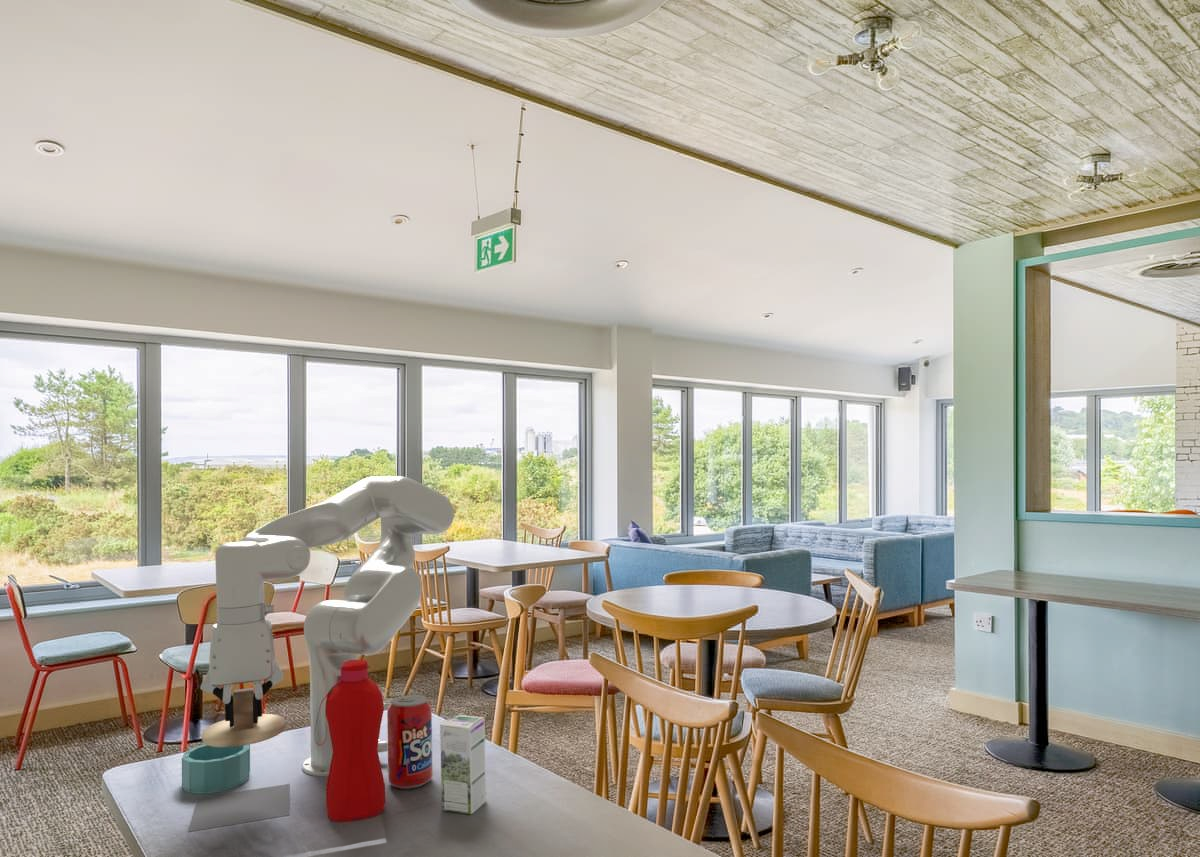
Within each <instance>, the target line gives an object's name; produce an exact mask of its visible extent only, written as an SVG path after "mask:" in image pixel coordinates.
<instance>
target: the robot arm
mask: <svg viewBox="0 0 1200 857" xmlns="http://www.w3.org/2000/svg"><path fill="white" fill-rule="evenodd" d="M454 515H455V513H454V506H453V504H452V503H451V501H450V500H449V498H448V497H446V496H445V495H444V494H443V493H441V492H439V491H437V490H434V489H433V488H430V487H429V486H427V485H425V484H423V483H421V482H419V481H417V480H414V479H413V478H410V477H406V476H402V475H374V476H367V477H364V478H363V479H360V480H359V481H357V482H354V483H353V484H351V485H350V486H348V487H347V488H344V489H343V490H341V491H340V492H338V493H336V494H334V495H333V496H331V497H330V498H327V499H326V500H323V501H322V502H320V503H317V504H314V505H310V506H308V507H306V508H303V509H300V510H297V511H295V512H292V513H289V514H286V515H283V516H281V517H277V518H276V519H273V520H271V521H269V522H267V523H265V524H262V525H261V526H260V527H257V529H254V530H253V531H251V532H249V533H248V534H246V535H245V536H243V538H241V539H240V540H239V541H233V542H232V541H231V542H226V543H222V544H220V545H219V546H218V547H217V548H216V550H215V555H214V556H215V557H214V558H215V586H216V587H215V588H216V592H215V593H216V621H217V622H216V623H214V624H212V627H211V633H210V634H211V635H210V645H209V662H208V663H209V664H208V665H209V666H208V668H209V669H208V671H207V672H206V675H205V676H204V678H203V680H202V683H201V684H200V687H199V688H200V690H202V691H204V692H206V693H209V694H212V695H214V696H215V697H216V698H218V699H219V700H221V702H222V703H223V704H224V714H225V715H224V716H225V717H224V718H225V719H224V720H225V721H230V727H233V726H234V711H233V695H232V693H233V685H239V684H240V685H241V684H247V683H253V691H254V692H253V723H254V724H257V723H258V717H261V716H262V714H263V702H262V701H263V697H264V696H265V695H266V694H267V693H268V691H269V690H270V689H271V688H272V687H273V686H275V685H277V684H279V683H280V682H282V681H283V680H284V679H285V674H284V672H283V670H282V669H281V668H280V666H279V665H278V662H277V661H276V657H275V656H276V655H275V643H274V642H275V641H274V634H273V633H274V632H273V628H272V623H271V619H270V618H267V617H266V616H267V615H270V614H273V613H275V611H274V610H275V606H274V604H267V603H266V600H265V599H266V598H265V582H266V581H267V580H270V581H271V580H287V579H292V578H295V577H298V576H299V575H301V574H302V573H303V572H305V570H307V568H308V566H309V565H310V561H311V550H310V548H318V547H323V546H329V545H334V544H337V543H341V542H344V541H345V540H347V539H349V538H350V537H351V536H353V535H355V534H356V533H357V532H359V531H360V530H362V529H363V528H365V527H367V526H369V525H370V524H371V523H373V522H374V521H376V520H378V519H380V530H381V531H380V541H379V544H378V545H377V547H376V548H375V549H374V550H373V552H372V553H371V554H370V555H369V556H368V557H367V558H366V560H364V562H363V563H362V564H361V565H360V566H359V567H358V568H357V569H356V570H355V571H354V572H353V573H352V575H351V576H349V579H348V580H347V582H346V584H345V587H344V590H343V592H344V593H343V594H344V599H345V600H344V599H328V600H323V601H320V602H318V603H316V604H314V605H313V606H312V607H311V608H310V610H308V612H307V614H306V616H305V620H304V624H303V633H304V641H305V646H306V650H307V655H308V661H309V684H310V685H309V692H310V693H309V696H310V697H309V698H310V699H309V700H310V701H309V702H310V704H309V705H310V707H309V708H310V709H309V710H310V711H309V712H310V714H309V715H310V716H309V718H310V719H309V720H310V756H309V757H308V758H307V759H305V760H304V761H303V763H302V764H301V767H302V769H301V770H302V772H303V773H305V774H307V775H309V776H315V777H328V775H329V770H330V765H331V760H332V755H333V749H332V743H331V738H330V732H329V726H328V722H327V718H326V717H325V707H326V699H327V696H326V695H327V694H328V692H329V690H330V689H331V687H333V686H334V685H335V684H336V683H337V677H338V676H341V665H342V664H343V663H345V662H347V661H349V660H360V658H359V656H358V655H364V656H365V655H366V656H367V655H374V654H377V653H379V652H380V651H382V650H383V649H384V648H386V647H387V645H388V644H389V643H390V642H391V641H392V640H393V639H394V638H395V636H396V635H397V633H398V632H399V631H401V630H400V629H401V628H402V627H403V626H404V625H405V623H406V622H407V621H408V620H409V619H410V617H411V616H412V615H413V613H414V612H415V611H416V609H417V608H418V606H419V604H420V601H421V598H422V594H423V581H422V578H421V576H420V575H419V573H418V572H417V571H416V570H415V569H413V567H414V564H415V562H416V554H415V548H414V543H413V538H412V535H439V534H442V533H445V532H446V531H447V530H448V529H450V527H451V526H452V524H453V520H454ZM338 680H339V678H338ZM263 681H264V682H263ZM325 696H326V698H325ZM324 698H325V699H324ZM323 699H324V700H323ZM322 700H323V702H322ZM321 702H322V704H321ZM320 705H321V707H320ZM319 708H320V711H319ZM318 712H319V714H318ZM317 716H318V719H317ZM316 720H317V724H316ZM315 726H316V731H315ZM326 727H327V735H326ZM325 738H326V740H325ZM315 739H316V741H315ZM324 741H325V742H324ZM316 742H317V743H318V744H322V743H323V742H324V744H322V745H318V744H317V743H316ZM377 750H378V754H379V753H384V752H388V740H384V741H381V740H380V738H379V741H378V749H377Z"/></svg>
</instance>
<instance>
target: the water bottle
mask: <svg viewBox="0 0 1200 857" xmlns="http://www.w3.org/2000/svg"><path fill="white" fill-rule="evenodd" d="M369 668H372V666H371V665H369V664H368V661H367V660H365V659H359V660H349V661H347V662H345V663H343V664H342V665H341V676H338V677H337V683H336V684H335V685H334V686H333V687H331V689H330V690H329V692H328V694H327V695H326V696H327V699H326V707H325V717H326V718H327V722H328V726H329V732H330V738H331V743H332V749H333V755H332V760H331V765H330V770H329V775H328V776H327V781H326V789H325V790H326V792H325V793H326V797H325V802H326V805H325V807H326V812H327V816H328V818H329V819H330V820H331V821H332V822H337V823H345V822H347V823H348V822H352V821H356V820H363V819H369V818H373V817H376V816H378V815H380V814H381V813H383V811H384V809H385V806H386V784H385V778H384V773H383V769H382V764H381V760H380V756H379V753H378V750H377V749H378V741H379V739H380V733H381V725H382V721H383V716H384V711H385V705H384V697H383V696H384V695H383V693H382V691H381V689H380V688H379V686H378V685H377V683H376V681H374V680H373V679H371V678H369V677H368V676H369V675H368V669H369ZM338 678H339V680H338ZM326 696H325V698H326ZM325 698H324V699H325ZM324 699H323V700H324ZM323 700H322V702H323ZM322 702H321V704H322ZM320 707H321V705H320ZM319 711H320V708H319ZM318 714H319V712H318ZM317 719H318V716H317ZM316 724H317V720H316ZM315 731H316V726H315ZM326 735H327V727H326ZM325 740H326V738H325ZM315 741H316V739H315ZM324 742H325V741H324ZM324 742H323V743H322V744H324ZM316 743H317V742H316ZM317 744H318V743H317ZM322 744H318V745H322Z"/></svg>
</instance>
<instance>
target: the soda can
mask: <svg viewBox="0 0 1200 857" xmlns="http://www.w3.org/2000/svg"><path fill="white" fill-rule="evenodd" d="M428 699H429V697H427V696H426V695H423V694H407V695H401V696H397V697H395V698H393V699H391V701H390V703H391V704H390V706H389V707H388V709H387V713H386V715H387V716H386V720H387V722H386V725H387V726H386V727H387V729H386V730H387V745H388V751H387V780H388V783H389V784H390V785H391V786H393V787H395V788H397V789H399V790H400V789H401V790H412V789H417V788H421V787H423V786H424V785H425V784H427V783H428V782H430V780H432V778H433V775H434V774H433V773H434V770H433V768H434V767H433V716H432V715H433V714H432V712H433V711H432V704H430V702H429V701H428Z"/></svg>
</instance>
